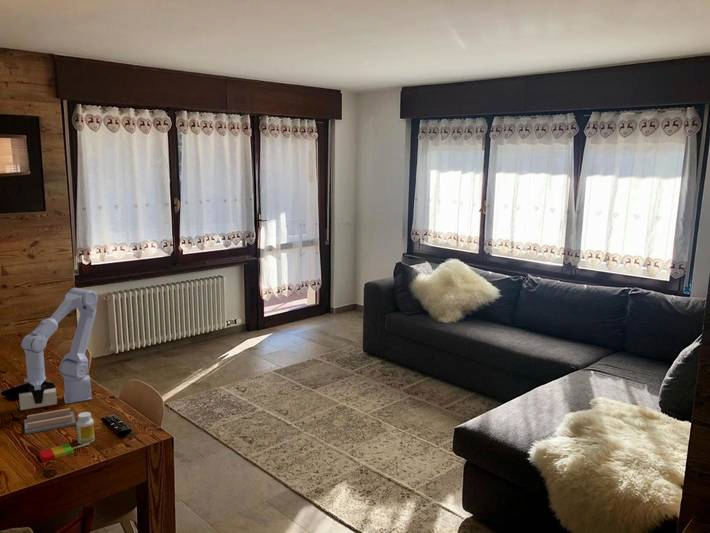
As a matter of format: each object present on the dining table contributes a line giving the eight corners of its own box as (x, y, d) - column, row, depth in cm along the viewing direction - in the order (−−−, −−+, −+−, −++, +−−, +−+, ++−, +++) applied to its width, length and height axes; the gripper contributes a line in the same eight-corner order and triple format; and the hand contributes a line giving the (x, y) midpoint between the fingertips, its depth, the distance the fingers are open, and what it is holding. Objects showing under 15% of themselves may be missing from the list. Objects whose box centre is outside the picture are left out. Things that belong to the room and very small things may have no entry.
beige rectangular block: (56, 400, 221) (55, 388, 220) (57, 403, 219) (56, 391, 218) (20, 406, 216) (19, 393, 215) (20, 410, 213) (19, 397, 212)
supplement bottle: (98, 438, 201) (96, 412, 199) (86, 445, 196) (84, 419, 194) (85, 435, 203) (84, 409, 201) (73, 442, 198) (71, 416, 196)
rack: (73, 413, 219) (72, 406, 218) (75, 424, 210) (75, 417, 210) (24, 422, 211) (23, 414, 210) (25, 434, 203) (24, 426, 202)
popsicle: (38, 456, 190) (38, 451, 189) (87, 442, 199) (86, 437, 199) (42, 463, 186) (42, 458, 185) (92, 449, 195) (92, 444, 195)
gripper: (22, 361, 218) (25, 395, 221) (23, 375, 206) (26, 411, 209) (44, 358, 222) (46, 392, 224) (46, 372, 209) (48, 407, 212)
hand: (38, 401), depth 217 cm, fingers closed on beige rectangular block, 3 cm apart
